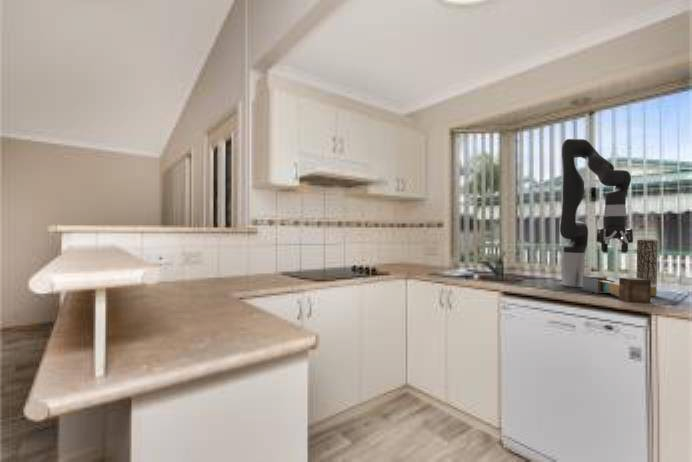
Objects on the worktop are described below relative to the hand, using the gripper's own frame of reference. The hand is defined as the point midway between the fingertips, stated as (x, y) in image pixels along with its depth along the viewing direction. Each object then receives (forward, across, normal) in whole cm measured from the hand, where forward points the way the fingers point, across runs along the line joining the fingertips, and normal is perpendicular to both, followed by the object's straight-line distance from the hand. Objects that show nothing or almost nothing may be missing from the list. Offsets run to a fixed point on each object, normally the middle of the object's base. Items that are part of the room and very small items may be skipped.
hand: (614, 252), depth 148 cm
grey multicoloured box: (+19, +1, -8) cm, 21 cm away
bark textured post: (+19, -16, -2) cm, 25 cm away
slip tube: (+18, +1, -2) cm, 18 cm away
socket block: (+19, +1, +12) cm, 22 cm away
